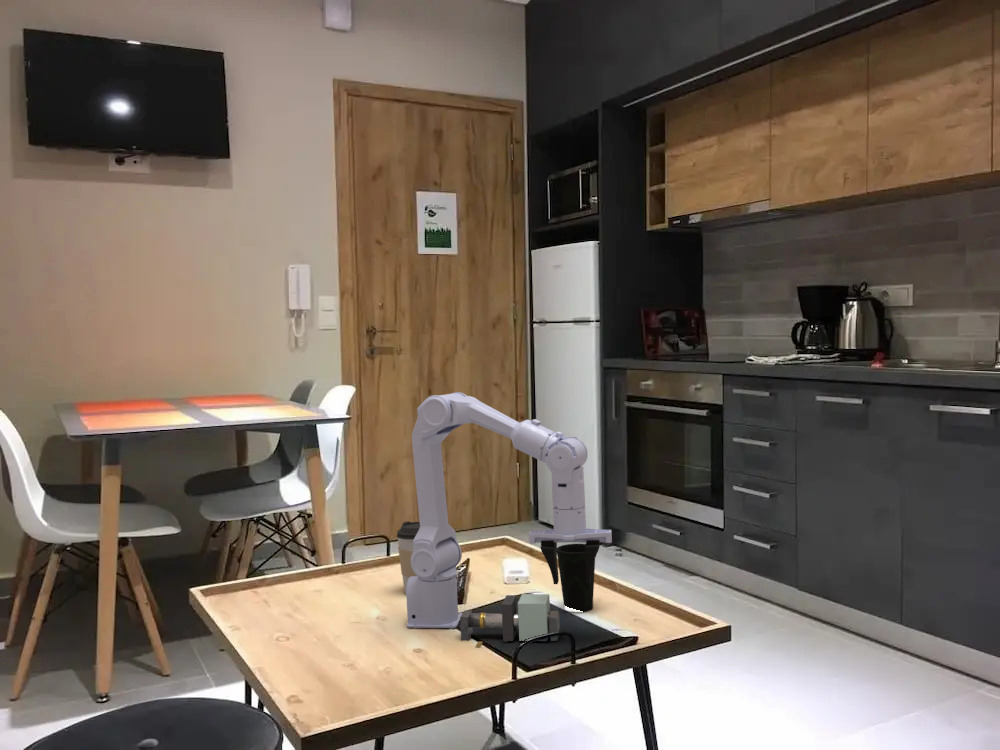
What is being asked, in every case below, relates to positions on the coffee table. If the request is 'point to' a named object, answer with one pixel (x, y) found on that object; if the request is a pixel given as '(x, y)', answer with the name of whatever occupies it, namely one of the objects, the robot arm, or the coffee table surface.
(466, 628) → the grey shaft
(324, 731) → the coffee table surface
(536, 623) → the sleeve
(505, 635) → the dark grey flat block
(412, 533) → the coffee cup
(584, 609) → the cup
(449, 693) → the coffee table surface
